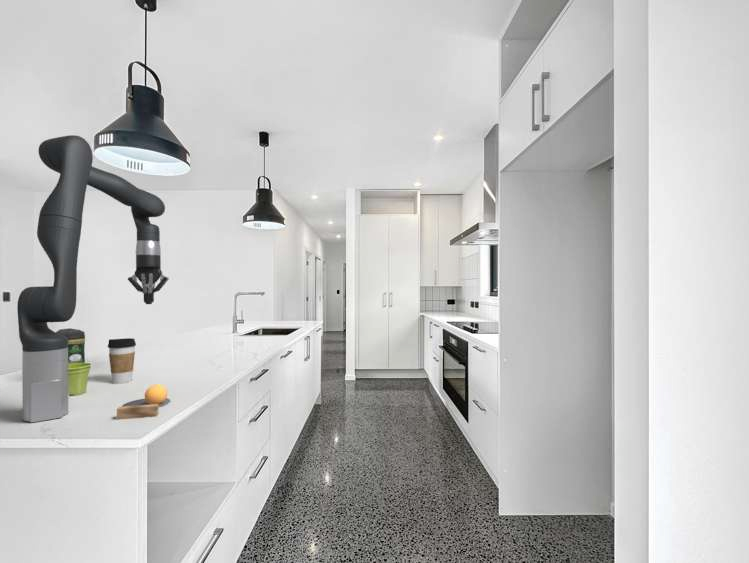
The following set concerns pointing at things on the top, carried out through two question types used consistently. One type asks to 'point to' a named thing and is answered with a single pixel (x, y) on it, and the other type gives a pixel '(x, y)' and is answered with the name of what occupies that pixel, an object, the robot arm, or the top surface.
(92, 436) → the top surface
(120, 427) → the top surface
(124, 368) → the coffee cup
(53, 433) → the top surface
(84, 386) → the plant pot
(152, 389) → the ball
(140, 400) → the disc
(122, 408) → the block
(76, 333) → the coffee jar
